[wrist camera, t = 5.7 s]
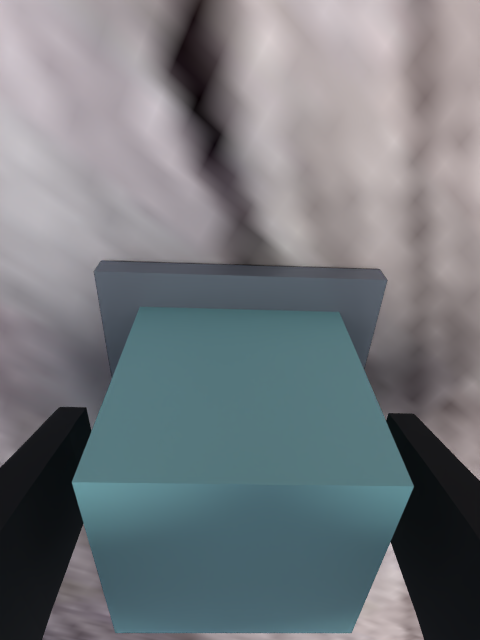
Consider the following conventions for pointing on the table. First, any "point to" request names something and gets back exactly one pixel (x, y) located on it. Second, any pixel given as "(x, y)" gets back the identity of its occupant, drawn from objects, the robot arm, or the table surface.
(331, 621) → the teal cube
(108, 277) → the slate coaster
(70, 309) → the table surface
